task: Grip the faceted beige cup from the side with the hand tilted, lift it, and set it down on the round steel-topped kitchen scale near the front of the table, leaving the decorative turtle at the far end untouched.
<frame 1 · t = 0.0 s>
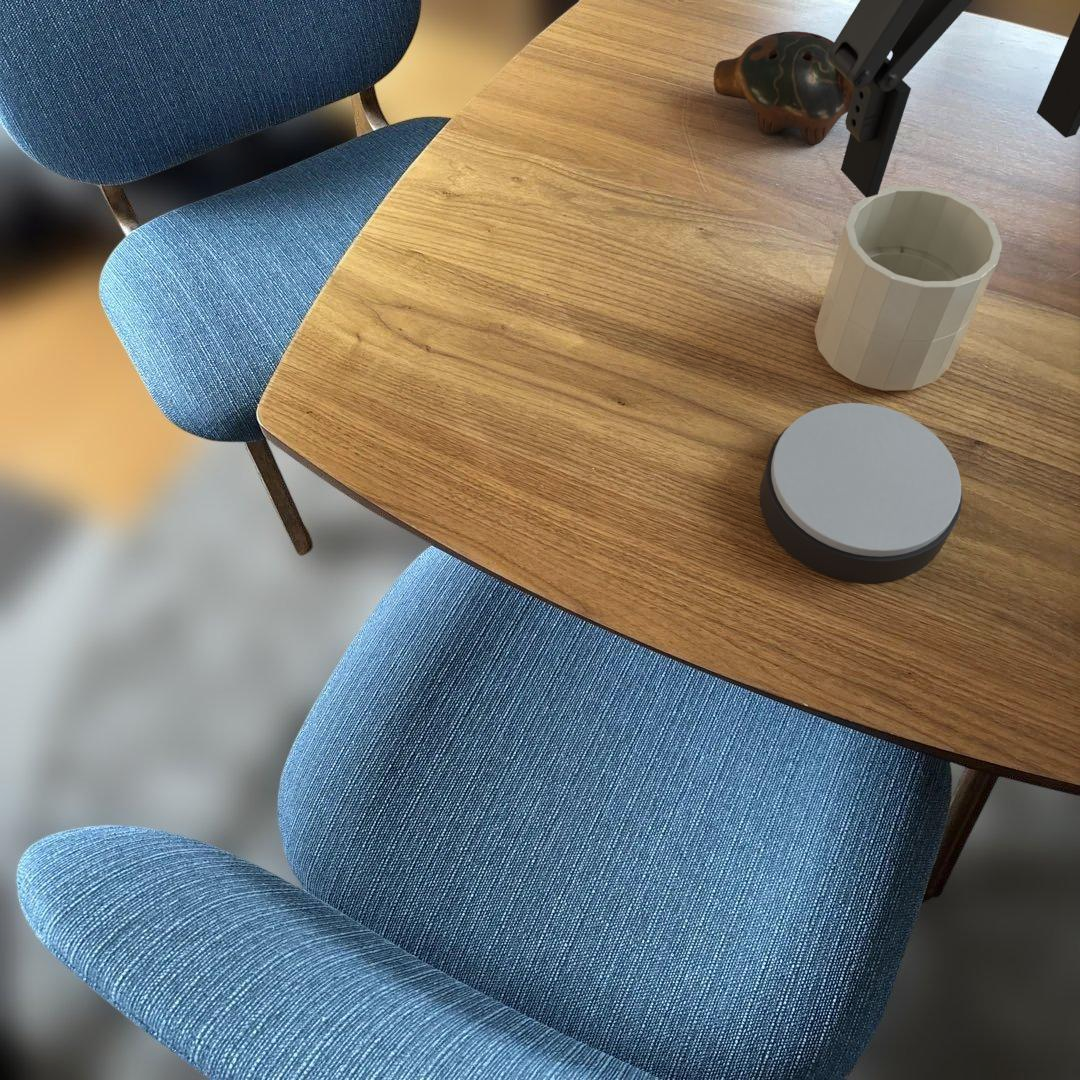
hand: (959, 152, 60), 21 cm above the table, tool pointing down, fingers open, 13 cm apart
faceted beige cup: (880, 347, 80), on the table
scale: (853, 504, 72), on the table
decorative turtle: (787, 122, 96), on the table
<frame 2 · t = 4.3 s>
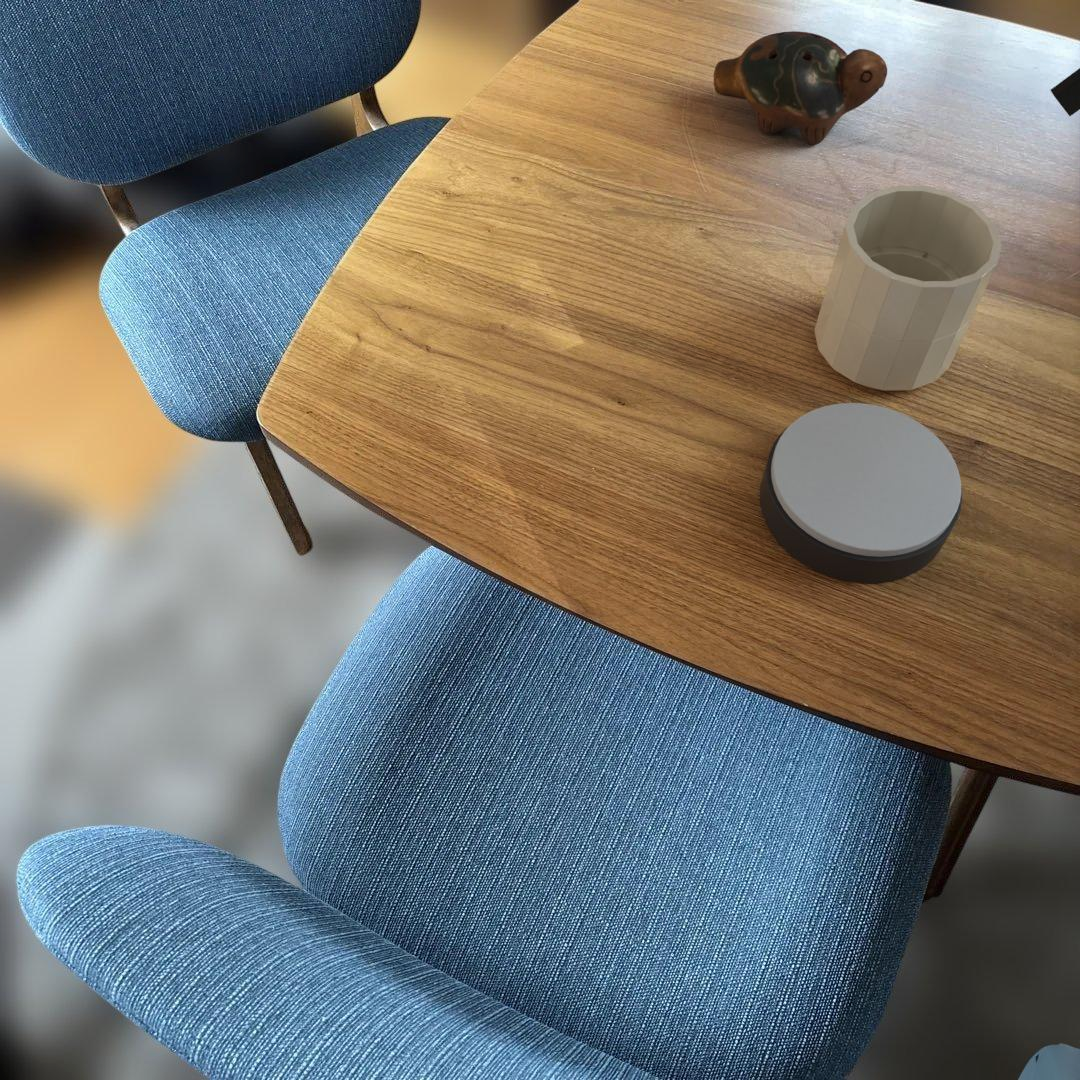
nothing on the table moved.
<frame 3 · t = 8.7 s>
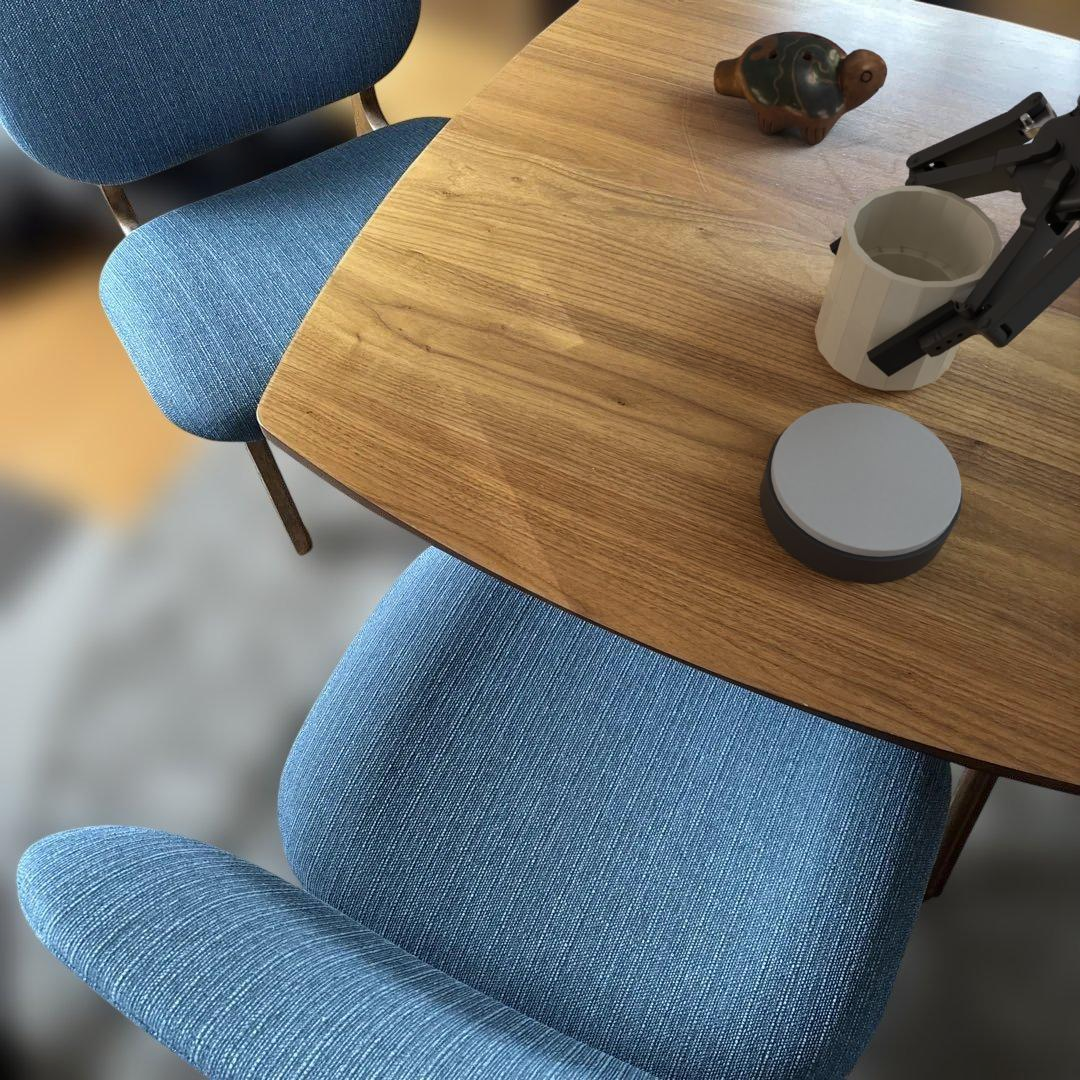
hand: (857, 309, 76), 4 cm above the table, tool tilted 45°, fingers closed on faceted beige cup, 11 cm apart
faceted beige cup: (881, 347, 80), on the table, touching gripper
everything else where it was.
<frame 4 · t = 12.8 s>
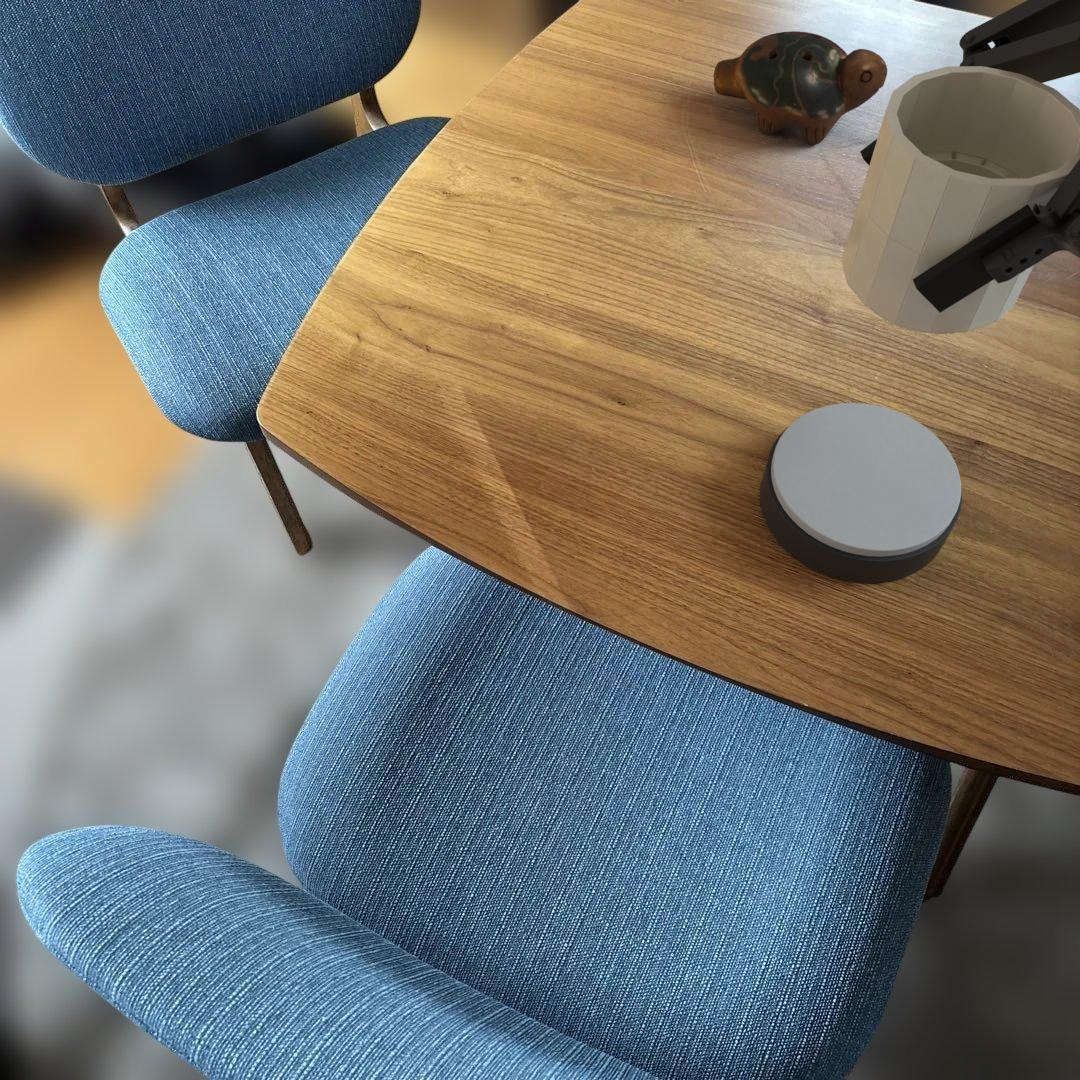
hand: (898, 229, 60), 19 cm above the table, tool tilted 45°, fingers closed on faceted beige cup, 11 cm apart
faceted beige cup: (925, 281, 63), point 14 cm above the table, touching gripper
everything else where it was.
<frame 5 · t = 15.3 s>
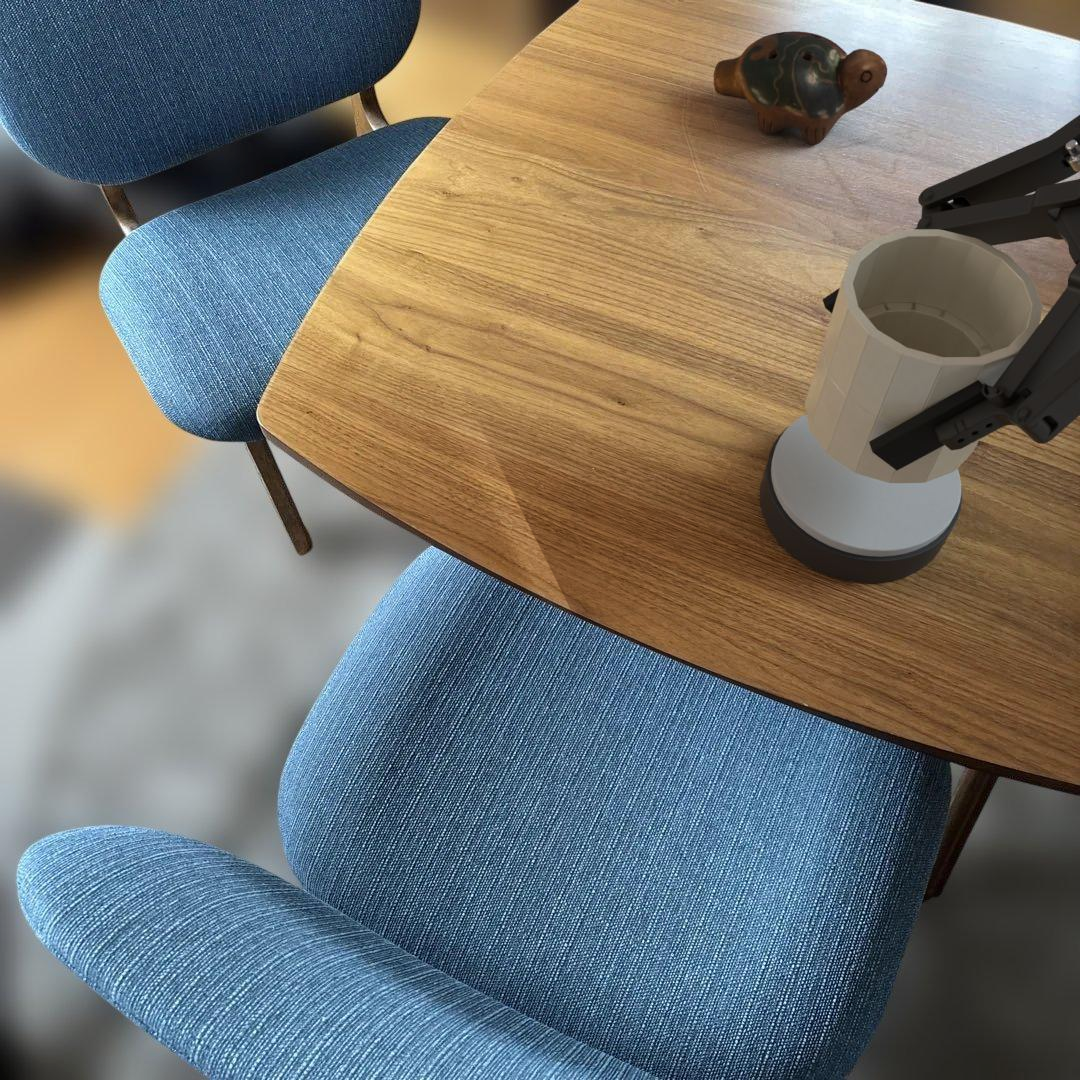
hand: (857, 381, 61), 13 cm above the table, tool tilted 45°, fingers closed on faceted beige cup, 11 cm apart
faceted beige cup: (887, 424, 65), point 9 cm above the table, touching gripper
everything else where it was.
when the fingers open (8 cm above the table, at t = 17.3 s): faceted beige cup stays where it is, resting on scale.
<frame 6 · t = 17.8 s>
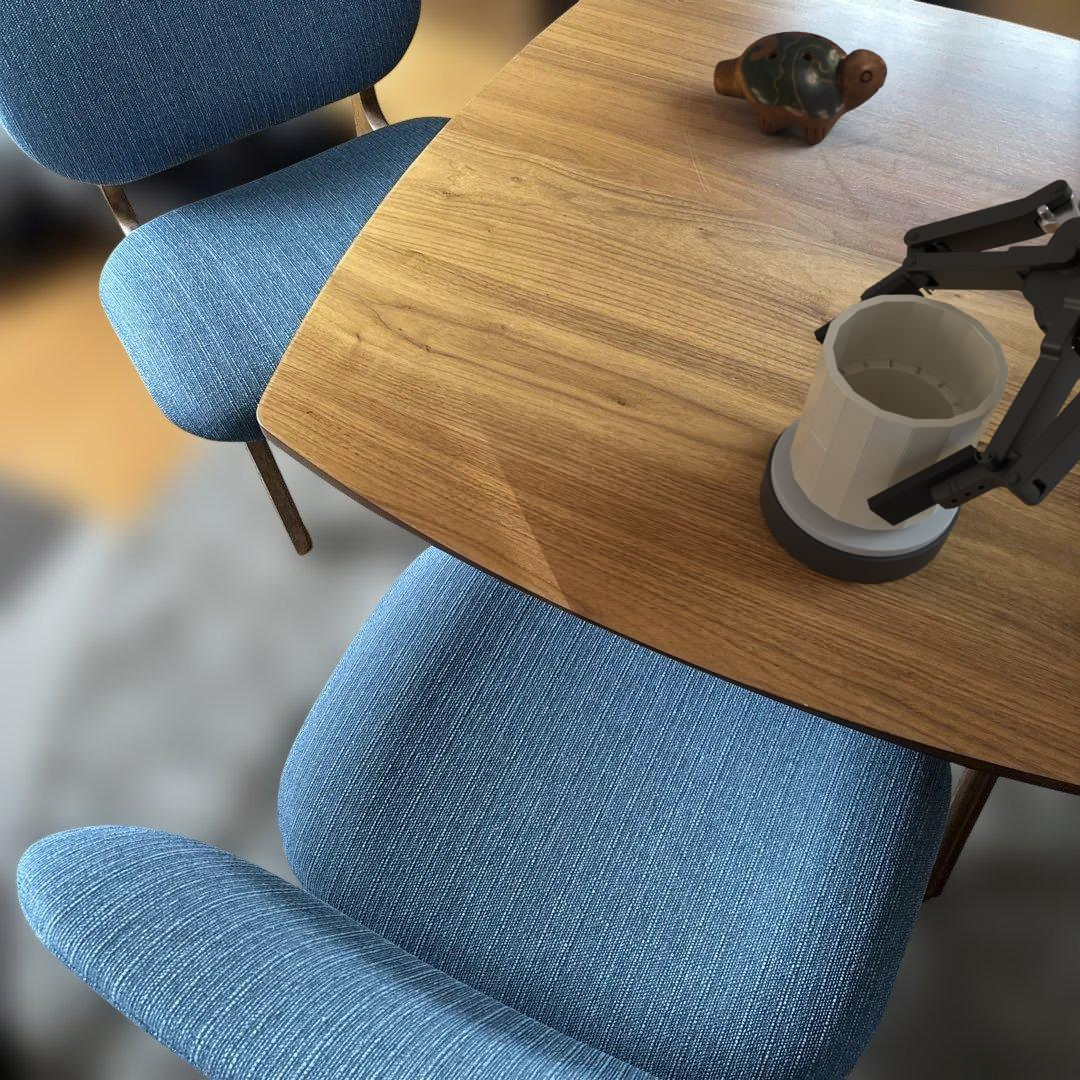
hand: (850, 424, 64), 9 cm above the table, tool tilted 45°, fingers open, 13 cm apart
faceted beige cup: (867, 472, 69), point 4 cm above the table, touching scale
everything else where it was.
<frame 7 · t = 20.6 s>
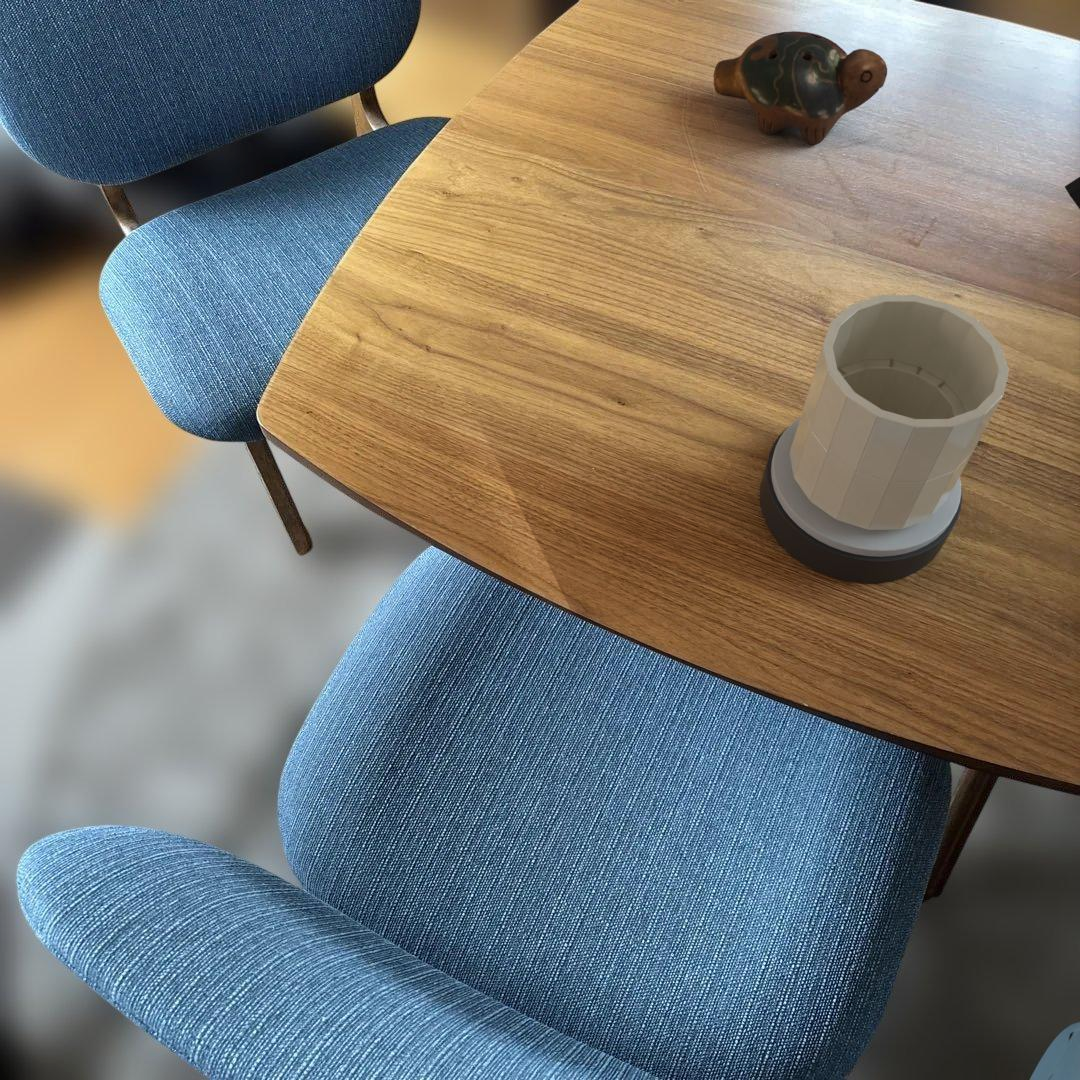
nothing on the table moved.
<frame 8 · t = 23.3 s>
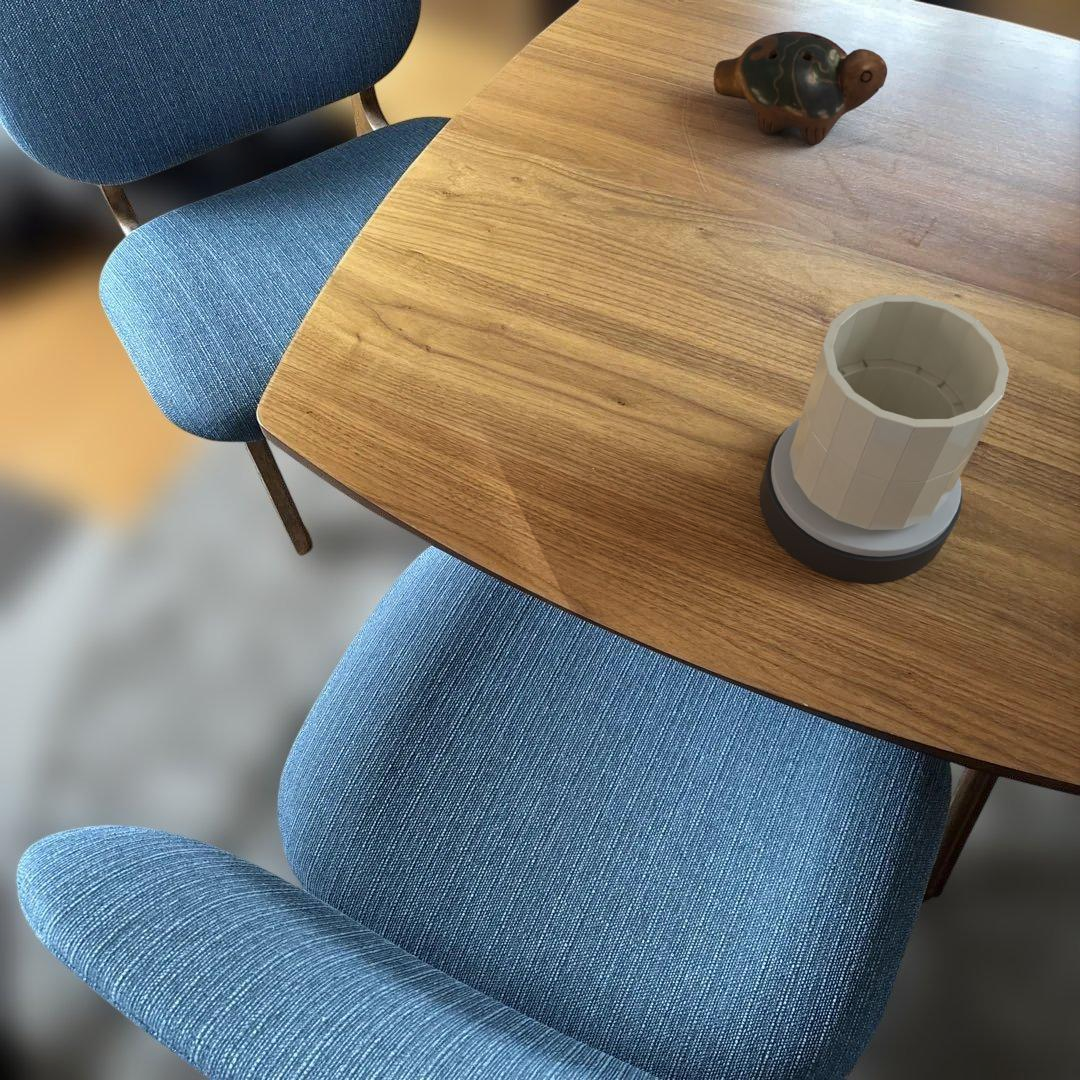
nothing on the table moved.
at the end: faceted beige cup inside the target area on the scale (0.1 cm from its centre), point 3.6 cm above the scale's base; faceted beige cup tilted 0°; decorative turtle moved 0.2 cm from its start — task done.
